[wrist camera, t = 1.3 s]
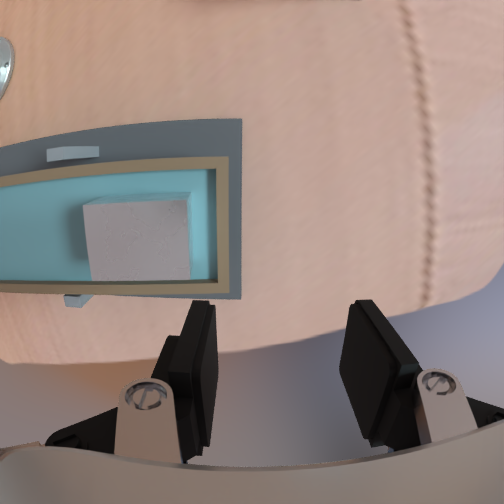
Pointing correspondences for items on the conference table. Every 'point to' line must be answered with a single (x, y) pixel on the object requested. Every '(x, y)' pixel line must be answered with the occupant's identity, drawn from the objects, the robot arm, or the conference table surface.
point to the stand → (137, 148)
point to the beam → (73, 228)
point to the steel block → (140, 237)
